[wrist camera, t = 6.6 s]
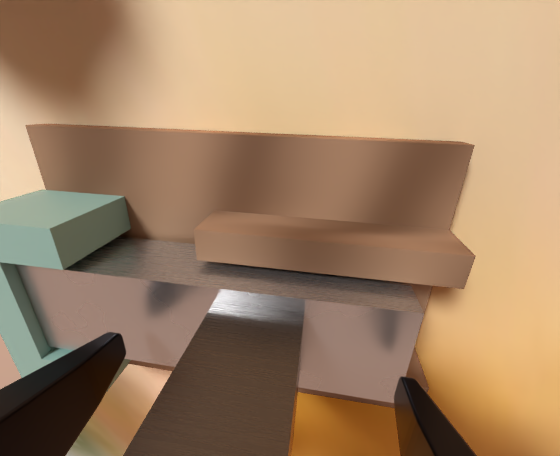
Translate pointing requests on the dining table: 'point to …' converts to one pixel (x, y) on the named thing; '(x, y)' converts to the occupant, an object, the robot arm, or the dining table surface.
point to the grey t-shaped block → (229, 339)
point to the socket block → (48, 258)
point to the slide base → (278, 200)
